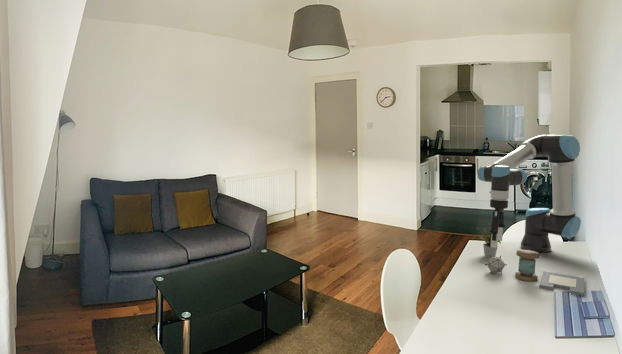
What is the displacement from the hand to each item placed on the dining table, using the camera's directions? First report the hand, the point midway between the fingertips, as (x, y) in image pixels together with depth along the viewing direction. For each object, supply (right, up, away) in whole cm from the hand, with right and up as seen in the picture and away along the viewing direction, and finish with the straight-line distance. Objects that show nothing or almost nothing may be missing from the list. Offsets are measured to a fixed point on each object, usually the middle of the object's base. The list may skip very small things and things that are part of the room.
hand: (496, 243), depth 192 cm
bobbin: (+11, -15, -5) cm, 19 cm away
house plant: (+7, -11, +26) cm, 29 cm away
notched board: (+23, -16, -13) cm, 31 cm away
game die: (0, -14, +2) cm, 14 cm away
